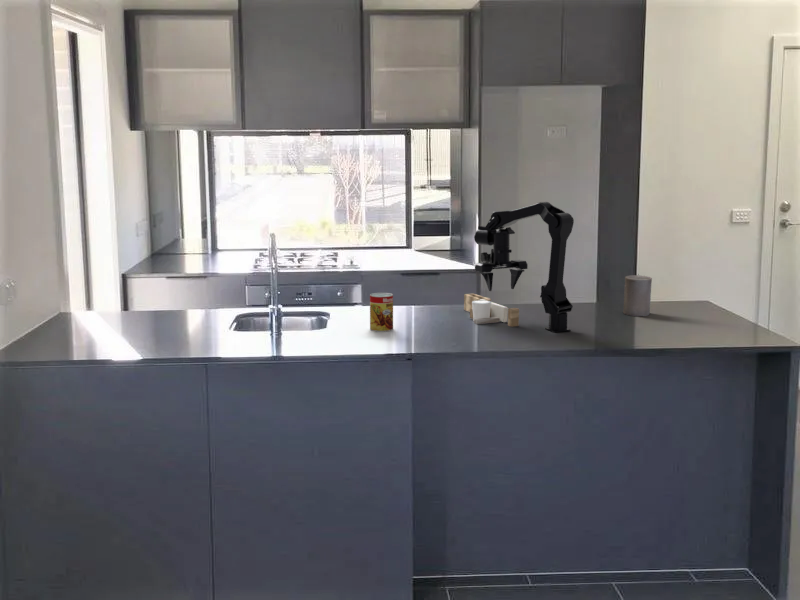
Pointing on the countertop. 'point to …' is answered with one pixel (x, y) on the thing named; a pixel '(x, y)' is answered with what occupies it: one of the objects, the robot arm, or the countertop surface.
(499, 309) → the sliding door
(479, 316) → the white grey-rimmed cylinder
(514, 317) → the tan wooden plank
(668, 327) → the countertop surface
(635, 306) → the pillar candle
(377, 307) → the canned food
